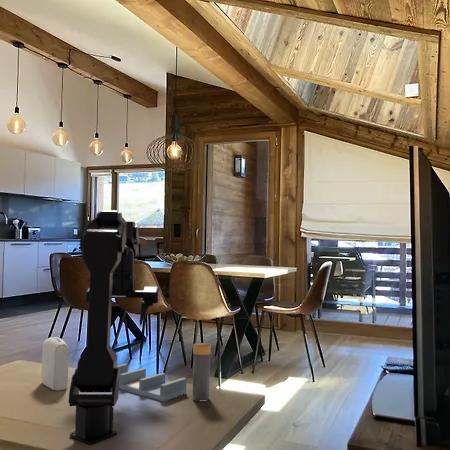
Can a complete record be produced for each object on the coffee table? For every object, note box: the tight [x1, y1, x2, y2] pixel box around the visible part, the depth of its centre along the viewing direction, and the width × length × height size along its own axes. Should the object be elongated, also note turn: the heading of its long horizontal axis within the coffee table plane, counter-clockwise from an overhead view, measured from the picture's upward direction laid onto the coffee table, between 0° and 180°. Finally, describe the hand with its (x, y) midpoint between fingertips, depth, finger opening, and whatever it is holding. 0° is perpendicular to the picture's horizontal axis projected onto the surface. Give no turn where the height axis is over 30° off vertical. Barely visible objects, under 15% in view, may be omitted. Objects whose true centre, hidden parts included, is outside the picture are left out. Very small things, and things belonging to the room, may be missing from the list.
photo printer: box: [41, 336, 70, 391], centre depth 122 cm, size 10×4×12 cm, turn 39°
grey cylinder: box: [192, 342, 212, 402], centre depth 114 cm, size 4×4×13 cm
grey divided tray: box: [117, 363, 187, 402], centre depth 121 cm, size 8×23×4 cm, turn 53°
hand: (123, 324), depth 126 cm, fingers open, 9 cm apart
